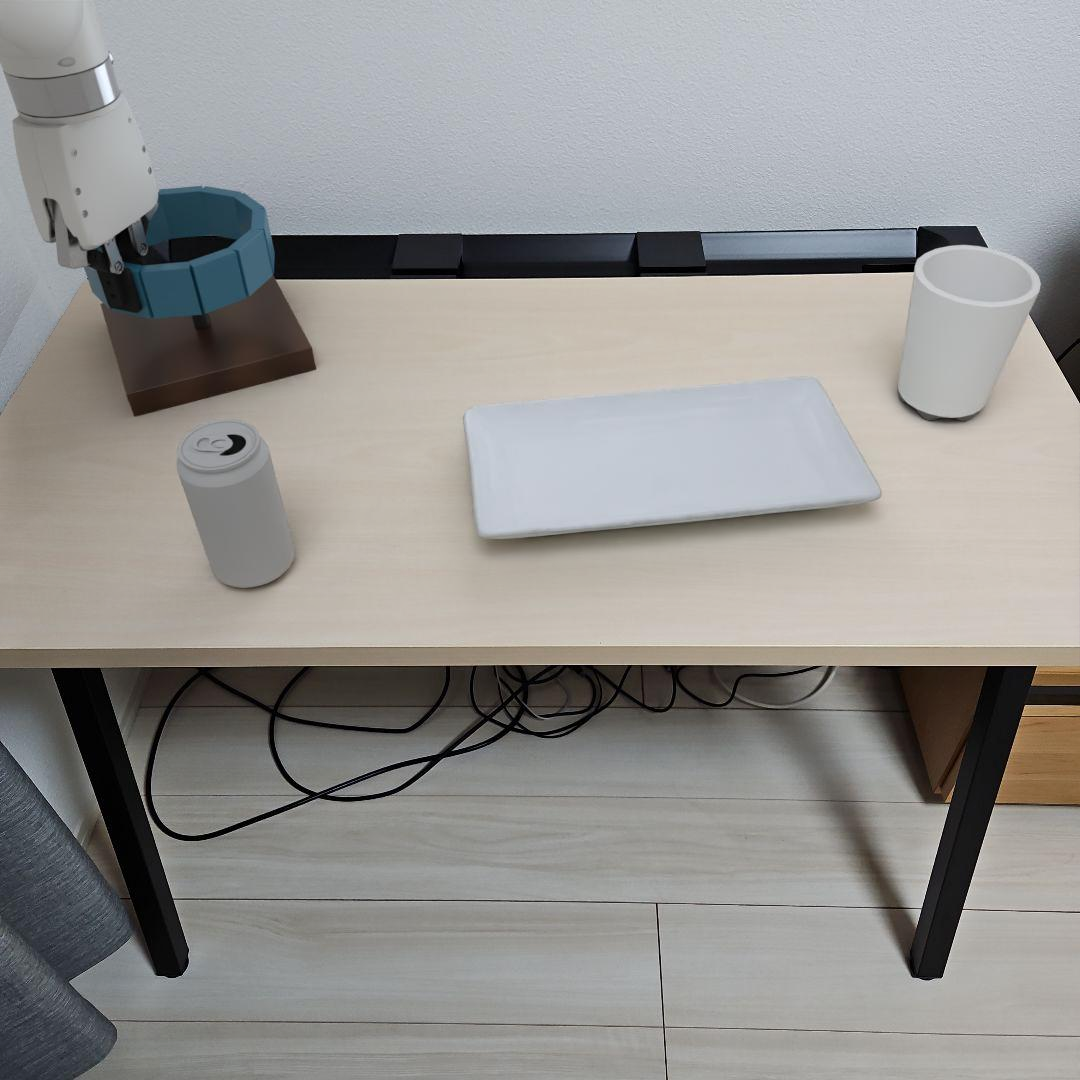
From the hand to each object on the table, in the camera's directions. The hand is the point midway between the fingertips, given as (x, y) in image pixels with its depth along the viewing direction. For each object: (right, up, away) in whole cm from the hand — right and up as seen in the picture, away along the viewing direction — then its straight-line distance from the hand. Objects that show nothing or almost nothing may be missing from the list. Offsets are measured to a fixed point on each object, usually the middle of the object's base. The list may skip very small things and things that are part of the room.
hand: (132, 302), depth 91 cm
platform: (+3, -2, +12) cm, 12 cm away
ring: (+3, +4, +6) cm, 8 cm away
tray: (+45, -16, -4) cm, 48 cm away
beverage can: (+13, -23, -10) cm, 28 cm away
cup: (+71, -8, +3) cm, 72 cm away
